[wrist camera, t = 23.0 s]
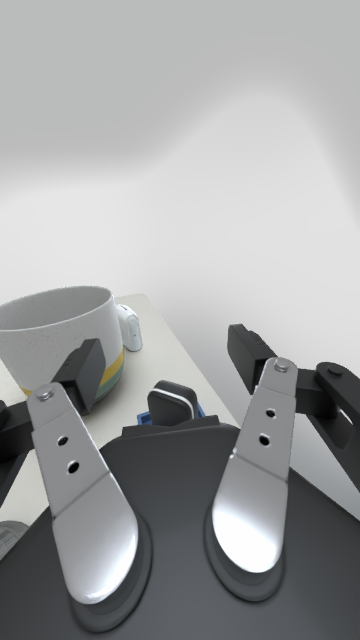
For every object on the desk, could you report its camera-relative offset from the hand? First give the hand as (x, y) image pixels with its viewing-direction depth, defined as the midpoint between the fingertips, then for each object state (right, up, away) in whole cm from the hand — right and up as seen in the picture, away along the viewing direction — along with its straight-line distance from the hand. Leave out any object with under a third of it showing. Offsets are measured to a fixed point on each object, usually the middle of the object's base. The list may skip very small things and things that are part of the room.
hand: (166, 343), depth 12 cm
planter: (-20, -15, +32) cm, 40 cm away
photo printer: (-14, -6, +48) cm, 51 cm away
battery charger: (0, -18, +20) cm, 28 cm away
